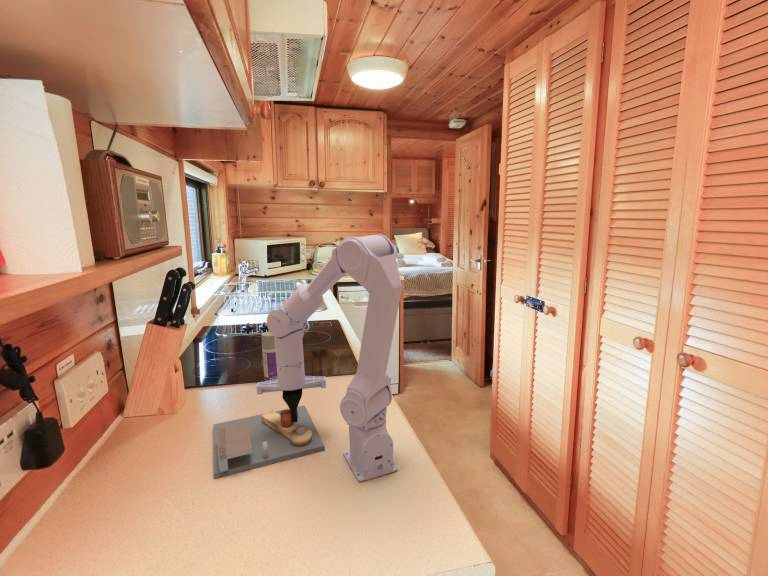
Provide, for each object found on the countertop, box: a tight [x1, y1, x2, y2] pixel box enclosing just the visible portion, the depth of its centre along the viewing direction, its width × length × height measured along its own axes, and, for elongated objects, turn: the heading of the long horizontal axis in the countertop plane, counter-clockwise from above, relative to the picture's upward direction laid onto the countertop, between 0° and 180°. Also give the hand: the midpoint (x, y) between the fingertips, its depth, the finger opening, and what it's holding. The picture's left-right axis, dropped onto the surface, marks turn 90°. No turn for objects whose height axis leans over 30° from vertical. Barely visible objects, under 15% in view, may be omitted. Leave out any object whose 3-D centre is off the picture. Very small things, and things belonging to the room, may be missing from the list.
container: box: [260, 330, 278, 382], centre depth 112 cm, size 5×5×15 cm
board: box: [212, 405, 326, 479], centre depth 85 cm, size 19×21×4 cm
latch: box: [260, 409, 312, 446], centre depth 86 cm, size 15×5×4 cm, turn 48°
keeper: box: [217, 423, 252, 478], centre depth 79 cm, size 10×6×4 cm, turn 23°
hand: (294, 420), depth 87 cm, fingers closed, pressing on latch
